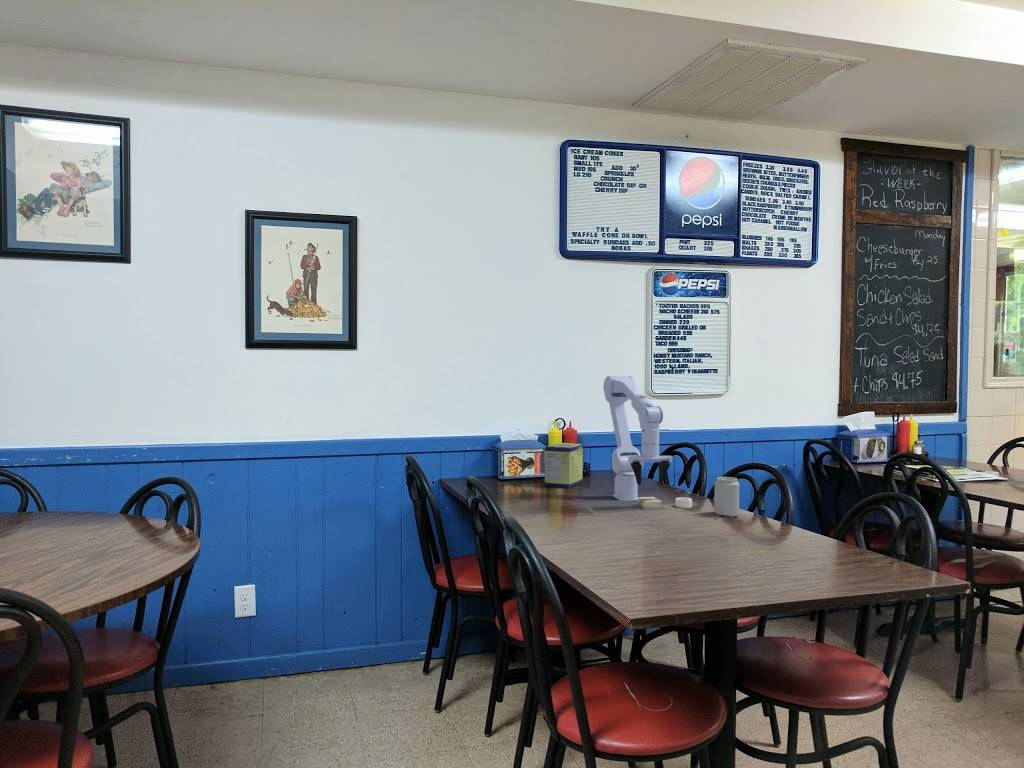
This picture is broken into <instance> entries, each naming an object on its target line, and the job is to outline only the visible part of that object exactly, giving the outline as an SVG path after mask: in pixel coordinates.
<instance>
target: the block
mask: <svg viewBox="0 0 1024 768" xmlns="http://www.w3.org/2000/svg"><path fill="white" fill-rule="evenodd" d="M637 497H638V496H637ZM637 502H638V505H640V506H641V507H643V508H645V509H661V510H663V509H662V506H663V505H662V500H660V499H658V498H657V497H655V496H641V497H640V496H639V497H638V500H637Z"/></svg>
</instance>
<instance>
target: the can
mask: <svg viewBox="0 0 1024 768" xmlns="http://www.w3.org/2000/svg"><path fill="white" fill-rule="evenodd" d="M716 479H717V480H715V482H714V499H713V500H714V504H713V505H714V506H713V507H714V509H713V510H714V514H716V515H717V516H718V515H719V516H725V517H732V518H735V516H736V517H737V516H738V515H739V514H740V483H739V481H738V478H737V477H732V476H730V477H729V476H719V477H716Z"/></svg>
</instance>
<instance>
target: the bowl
mask: <svg viewBox="0 0 1024 768" xmlns="http://www.w3.org/2000/svg"><path fill="white" fill-rule="evenodd" d="M675 507H676V508H681V509H682V508H683V509H688V508H689V509H690V508H692V507H693V499H692V498H690V497H683V496H681V497H675Z"/></svg>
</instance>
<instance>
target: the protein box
mask: <svg viewBox="0 0 1024 768" xmlns="http://www.w3.org/2000/svg"><path fill="white" fill-rule="evenodd" d="M583 445H584V444H583V443H574V442H573V443H569V442H556V443H553V444H550V445H545V446H544V487H548V486H551V488H561V489H562V488H564V489H571V488H573V487H575V486H577V484H578V485H580V484H582V483H583V471H584V470H583V467H584V466H583V460H584V459H583V457H584V455H583V453H584V452H583V450H584V447H583ZM581 482H582V483H581ZM579 483H580V484H579ZM570 487H571V488H570Z"/></svg>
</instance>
